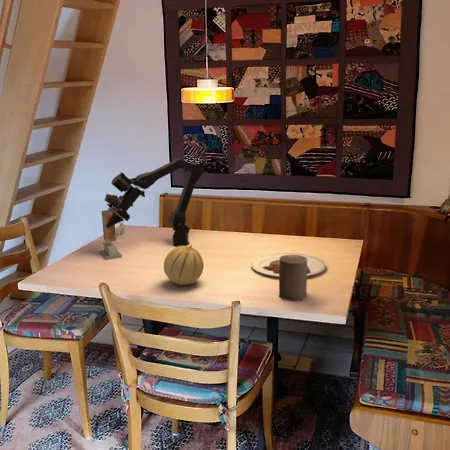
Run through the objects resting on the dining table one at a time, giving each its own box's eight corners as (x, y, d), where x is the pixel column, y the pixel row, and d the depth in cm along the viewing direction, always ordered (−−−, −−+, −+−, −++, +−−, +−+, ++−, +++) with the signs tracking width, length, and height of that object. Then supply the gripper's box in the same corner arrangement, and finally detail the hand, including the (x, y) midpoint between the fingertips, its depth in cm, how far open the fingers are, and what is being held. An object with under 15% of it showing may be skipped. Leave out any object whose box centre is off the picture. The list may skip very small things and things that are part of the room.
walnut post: (113, 238, 241) (111, 209, 238) (116, 240, 238) (113, 211, 234) (103, 239, 240) (101, 210, 236) (106, 241, 236) (103, 212, 233)
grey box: (100, 252, 244) (99, 242, 243) (115, 250, 247) (114, 240, 246) (106, 259, 234) (105, 249, 233) (122, 257, 237) (121, 247, 235)
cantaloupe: (160, 280, 208) (158, 242, 204) (196, 274, 213) (195, 238, 209) (171, 293, 194) (169, 253, 191) (209, 287, 200) (208, 248, 196)
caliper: (122, 233, 276) (122, 221, 275) (124, 233, 276) (123, 221, 274) (102, 244, 257) (101, 231, 255) (104, 245, 257) (103, 232, 255)
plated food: (267, 253, 239) (267, 246, 238) (334, 262, 226) (334, 254, 225) (239, 274, 213) (239, 266, 212) (313, 285, 200) (313, 277, 199)
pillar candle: (275, 299, 187) (275, 257, 184) (283, 289, 196) (283, 249, 193) (303, 302, 184) (304, 260, 180) (309, 292, 193) (310, 252, 189)
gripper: (109, 183, 243) (87, 210, 241) (120, 190, 226) (96, 219, 224) (128, 199, 248) (106, 225, 246) (139, 206, 231) (116, 235, 230)
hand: (105, 225), depth 236 cm, fingers closed on walnut post, 4 cm apart
